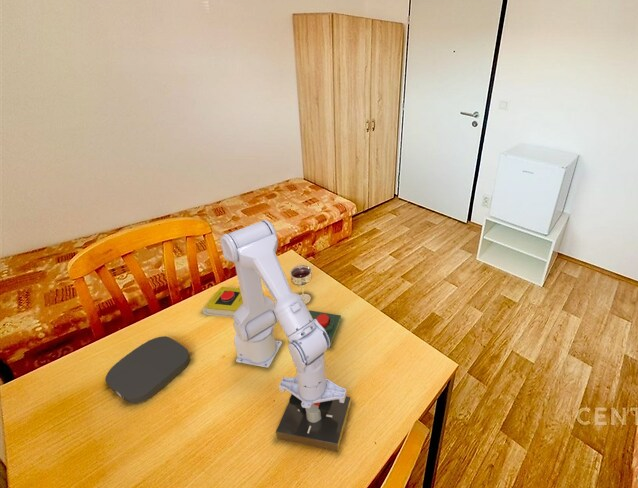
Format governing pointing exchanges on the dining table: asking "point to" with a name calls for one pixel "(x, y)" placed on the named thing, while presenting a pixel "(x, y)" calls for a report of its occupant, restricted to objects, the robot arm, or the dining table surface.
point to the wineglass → (301, 279)
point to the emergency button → (224, 302)
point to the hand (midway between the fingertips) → (314, 412)
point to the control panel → (315, 426)
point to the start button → (323, 320)
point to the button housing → (332, 326)
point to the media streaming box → (147, 369)
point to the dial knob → (313, 413)
